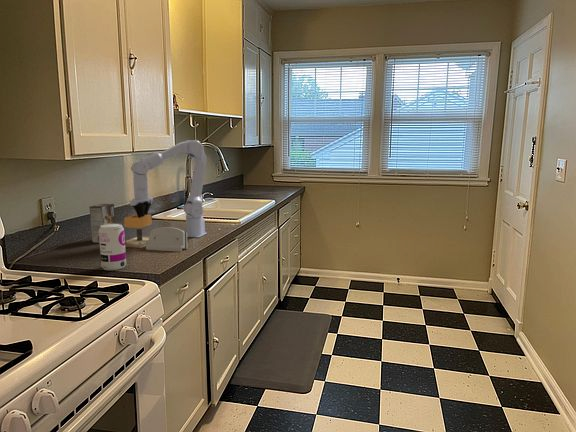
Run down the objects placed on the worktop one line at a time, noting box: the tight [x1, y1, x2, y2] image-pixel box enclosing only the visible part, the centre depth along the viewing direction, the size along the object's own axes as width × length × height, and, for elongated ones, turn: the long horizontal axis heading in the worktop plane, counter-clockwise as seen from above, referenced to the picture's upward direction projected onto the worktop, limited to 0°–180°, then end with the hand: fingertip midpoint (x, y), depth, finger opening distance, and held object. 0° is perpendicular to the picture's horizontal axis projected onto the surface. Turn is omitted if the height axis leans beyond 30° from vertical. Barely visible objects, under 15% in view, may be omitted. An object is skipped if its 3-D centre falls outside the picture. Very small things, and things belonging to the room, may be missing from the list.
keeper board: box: [125, 228, 150, 249], centre depth 190 cm, size 14×10×6 cm
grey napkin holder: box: [145, 226, 188, 253], centre depth 181 cm, size 17×5×10 cm, turn 76°
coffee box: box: [89, 203, 116, 244], centre depth 196 cm, size 9×6×16 cm
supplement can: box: [99, 223, 127, 271], centre depth 153 cm, size 8×8×15 cm
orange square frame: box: [123, 213, 153, 229], centre depth 189 cm, size 8×8×4 cm
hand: (142, 219), depth 192 cm, fingers closed on orange square frame
